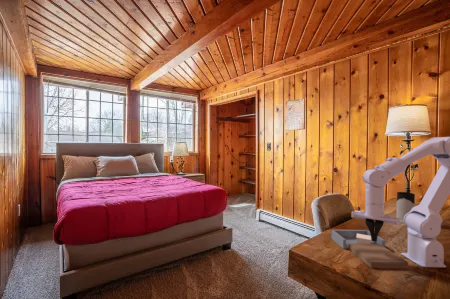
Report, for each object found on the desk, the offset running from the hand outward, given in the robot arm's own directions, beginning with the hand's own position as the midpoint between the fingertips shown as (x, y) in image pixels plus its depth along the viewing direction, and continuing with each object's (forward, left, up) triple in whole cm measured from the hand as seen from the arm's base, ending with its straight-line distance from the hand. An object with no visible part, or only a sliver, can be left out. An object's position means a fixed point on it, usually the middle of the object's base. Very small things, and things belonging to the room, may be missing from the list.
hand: (374, 240), depth 82 cm
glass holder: (+43, -45, -6) cm, 62 cm away
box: (+11, 0, -6) cm, 12 cm away
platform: (-1, 0, -6) cm, 6 cm away
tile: (+11, -3, -5) cm, 13 cm away
